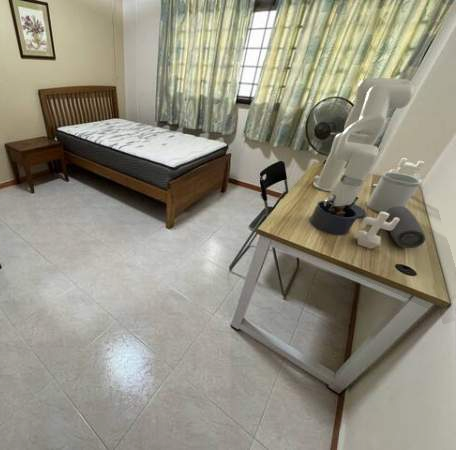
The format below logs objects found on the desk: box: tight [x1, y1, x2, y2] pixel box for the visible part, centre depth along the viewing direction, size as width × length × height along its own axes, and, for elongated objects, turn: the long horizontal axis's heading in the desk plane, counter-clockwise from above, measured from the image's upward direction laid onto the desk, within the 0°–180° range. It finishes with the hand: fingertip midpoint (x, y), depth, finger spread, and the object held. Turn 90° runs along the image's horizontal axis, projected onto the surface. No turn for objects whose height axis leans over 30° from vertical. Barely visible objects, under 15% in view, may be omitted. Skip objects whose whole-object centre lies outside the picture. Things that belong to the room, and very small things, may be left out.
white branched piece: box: [372, 157, 425, 187], centre depth 138 cm, size 19×14×20 cm
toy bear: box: [330, 205, 346, 217], centre depth 107 cm, size 5×5×12 cm
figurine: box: [357, 212, 400, 250], centre depth 95 cm, size 7×9×15 cm
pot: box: [309, 200, 358, 236], centre depth 108 cm, size 15×15×8 cm
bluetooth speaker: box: [385, 206, 426, 249], centre depth 102 cm, size 23×9×10 cm, turn 150°
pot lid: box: [351, 203, 367, 218], centre depth 121 cm, size 16×16×6 cm
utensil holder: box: [366, 171, 423, 213], centre depth 120 cm, size 15×15×18 cm
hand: (333, 215), depth 108 cm, fingers open, 9 cm apart
